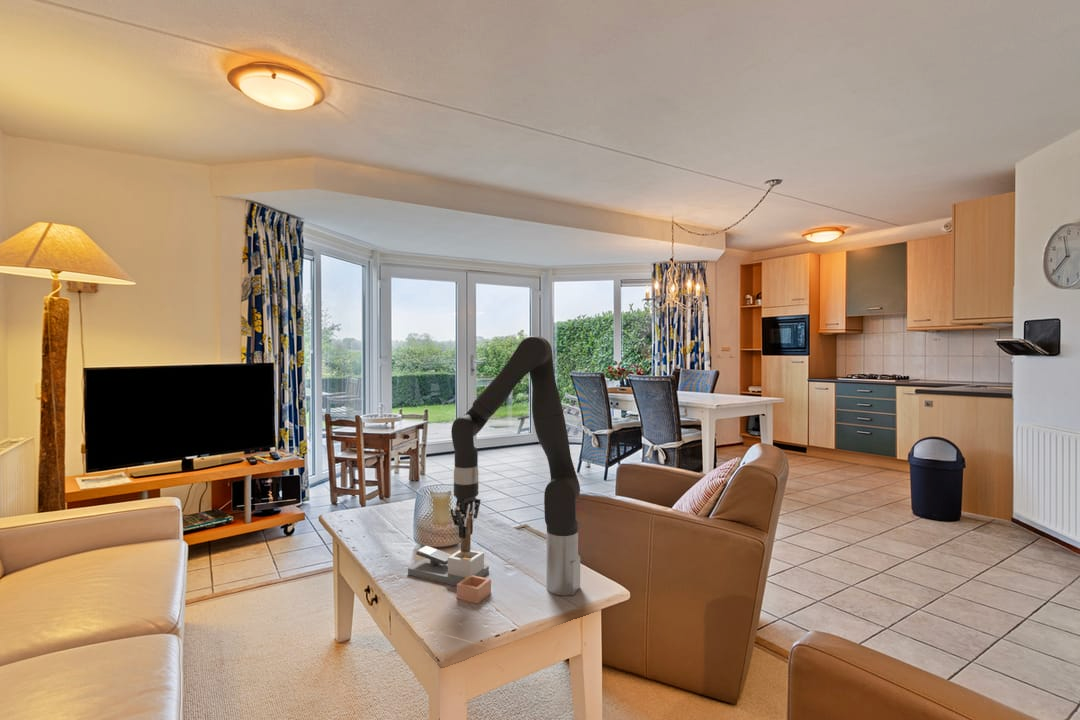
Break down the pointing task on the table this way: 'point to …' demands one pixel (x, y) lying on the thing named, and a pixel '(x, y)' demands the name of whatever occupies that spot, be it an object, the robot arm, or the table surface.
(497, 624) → the table surface
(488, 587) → the holder
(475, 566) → the grey base slab
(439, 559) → the rocker switch
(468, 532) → the brown rectangular block
